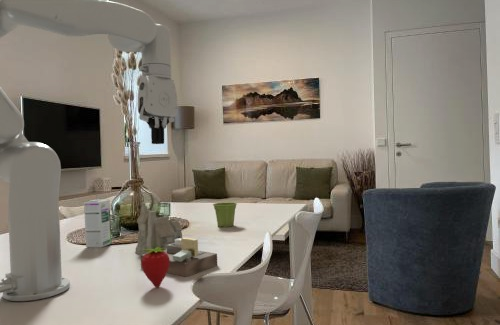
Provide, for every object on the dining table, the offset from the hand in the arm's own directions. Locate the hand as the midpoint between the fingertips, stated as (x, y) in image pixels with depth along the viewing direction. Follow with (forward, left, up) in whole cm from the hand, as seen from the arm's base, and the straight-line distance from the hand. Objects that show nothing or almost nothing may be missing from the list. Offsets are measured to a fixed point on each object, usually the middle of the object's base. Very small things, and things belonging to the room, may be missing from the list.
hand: (157, 143), depth 107 cm
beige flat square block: (-1, -12, -28) cm, 30 cm away
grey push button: (+2, -5, -28) cm, 28 cm away
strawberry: (-15, -15, -31) cm, 38 cm away
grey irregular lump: (+9, +10, -32) cm, 34 cm away
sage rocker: (-4, -12, -28) cm, 30 cm away
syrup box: (+3, +33, -31) cm, 46 cm away
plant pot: (+49, +19, -31) cm, 61 cm away
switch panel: (-1, -7, -31) cm, 32 cm away
